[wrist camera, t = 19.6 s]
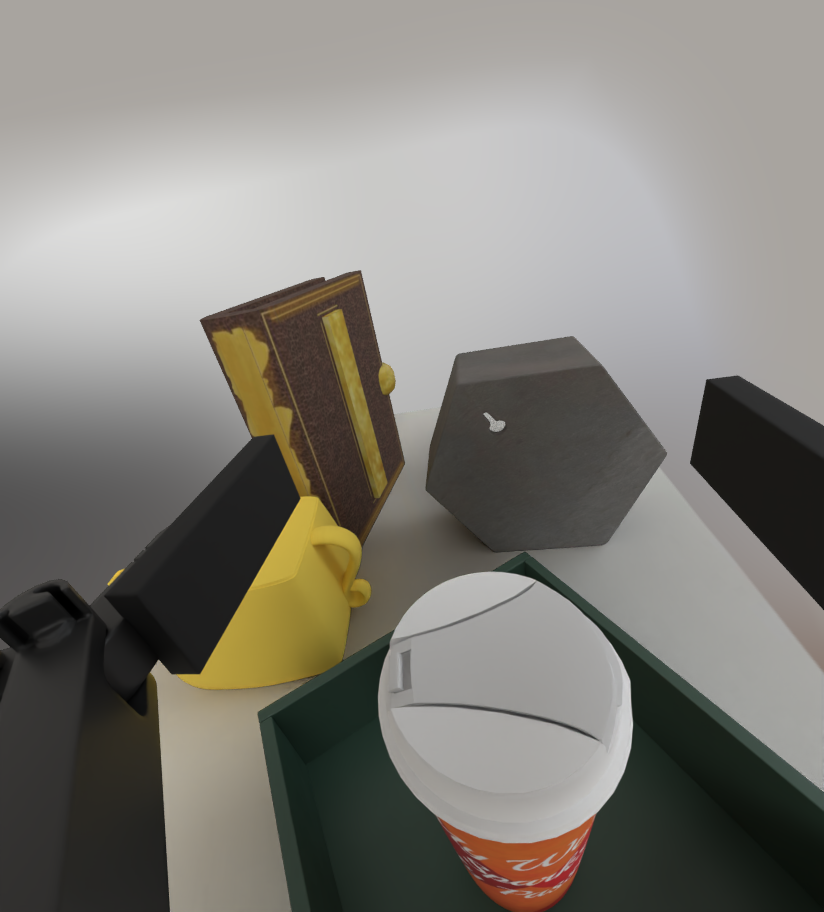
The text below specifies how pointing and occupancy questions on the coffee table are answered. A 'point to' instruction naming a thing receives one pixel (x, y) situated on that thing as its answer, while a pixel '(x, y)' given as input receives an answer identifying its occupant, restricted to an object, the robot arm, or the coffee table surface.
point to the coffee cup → (507, 728)
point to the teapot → (291, 607)
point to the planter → (539, 447)
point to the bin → (615, 825)
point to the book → (316, 391)
